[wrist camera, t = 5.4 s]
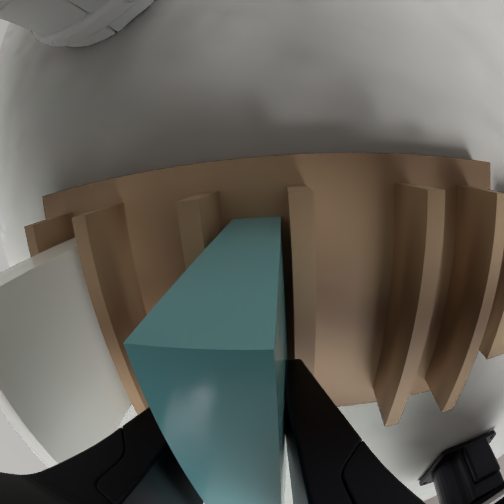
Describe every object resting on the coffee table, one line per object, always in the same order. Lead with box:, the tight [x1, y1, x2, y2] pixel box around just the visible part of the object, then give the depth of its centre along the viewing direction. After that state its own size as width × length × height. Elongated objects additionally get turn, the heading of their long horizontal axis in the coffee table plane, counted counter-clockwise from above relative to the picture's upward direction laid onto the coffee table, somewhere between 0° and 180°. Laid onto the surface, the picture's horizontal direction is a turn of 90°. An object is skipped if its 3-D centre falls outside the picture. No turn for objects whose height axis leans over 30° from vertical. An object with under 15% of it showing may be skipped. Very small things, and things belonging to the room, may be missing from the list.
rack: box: [25, 153, 504, 427], centre depth 10 cm, size 11×19×4 cm, turn 95°
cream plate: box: [0, 237, 132, 468], centre depth 8 cm, size 7×2×7 cm, turn 5°
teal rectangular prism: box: [123, 216, 288, 504], centre depth 7 cm, size 7×2×7 cm, turn 5°
